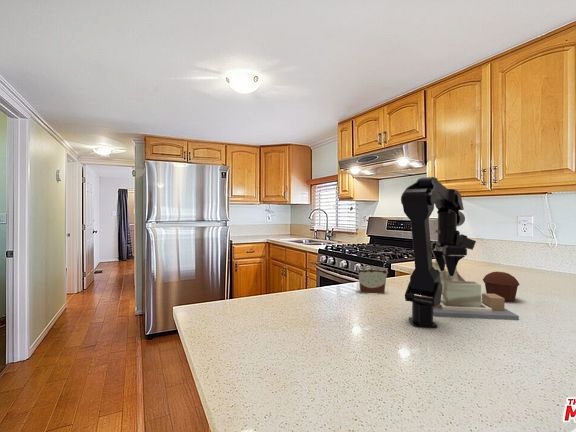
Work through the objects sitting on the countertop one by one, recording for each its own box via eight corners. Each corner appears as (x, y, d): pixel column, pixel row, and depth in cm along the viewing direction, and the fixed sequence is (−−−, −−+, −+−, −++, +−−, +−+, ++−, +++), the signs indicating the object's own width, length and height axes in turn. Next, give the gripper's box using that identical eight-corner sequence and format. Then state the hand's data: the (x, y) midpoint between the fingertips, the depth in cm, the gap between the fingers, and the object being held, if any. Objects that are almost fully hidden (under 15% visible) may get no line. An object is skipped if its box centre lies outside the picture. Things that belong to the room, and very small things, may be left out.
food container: (385, 290, 132) (385, 266, 131) (388, 294, 125) (388, 268, 125) (355, 289, 133) (355, 265, 133) (356, 293, 127) (356, 268, 126)
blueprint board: (518, 319, 96) (519, 302, 96) (425, 315, 99) (425, 299, 99) (493, 305, 110) (493, 290, 110) (412, 302, 114) (413, 287, 114)
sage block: (480, 309, 102) (481, 284, 102) (448, 308, 103) (448, 283, 103) (473, 305, 107) (474, 281, 106) (442, 303, 108) (442, 280, 108)
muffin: (526, 301, 116) (527, 274, 115) (506, 304, 111) (506, 276, 111) (494, 293, 127) (495, 268, 126) (475, 296, 122) (475, 270, 122)
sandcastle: (467, 297, 121) (466, 257, 122) (421, 293, 129) (420, 256, 130) (468, 291, 134) (467, 255, 135) (426, 287, 142) (425, 254, 143)
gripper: (485, 228, 96) (484, 279, 96) (462, 226, 115) (461, 269, 115) (446, 228, 98) (446, 278, 98) (429, 226, 117) (429, 268, 117)
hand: (446, 273), depth 107 cm, fingers open, 9 cm apart
